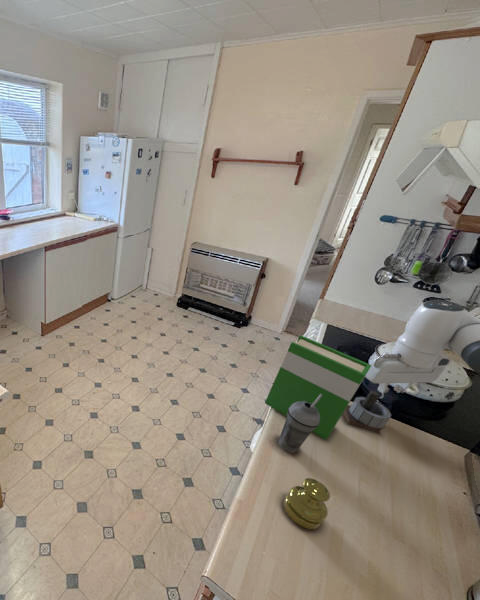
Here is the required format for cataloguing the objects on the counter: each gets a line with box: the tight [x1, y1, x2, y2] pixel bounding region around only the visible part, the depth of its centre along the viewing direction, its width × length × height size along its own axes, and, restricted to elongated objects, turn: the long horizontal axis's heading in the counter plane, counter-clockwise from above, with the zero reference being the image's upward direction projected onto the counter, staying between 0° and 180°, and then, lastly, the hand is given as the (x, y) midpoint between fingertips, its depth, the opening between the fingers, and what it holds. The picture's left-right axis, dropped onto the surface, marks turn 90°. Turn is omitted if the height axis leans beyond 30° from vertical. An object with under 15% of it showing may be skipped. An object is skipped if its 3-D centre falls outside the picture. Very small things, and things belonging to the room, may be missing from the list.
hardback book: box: [264, 334, 372, 440], centre depth 96 cm, size 18×7×24 cm, turn 39°
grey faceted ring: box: [349, 396, 392, 429], centre depth 100 cm, size 9×9×4 cm
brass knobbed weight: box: [283, 477, 331, 530], centre depth 72 cm, size 7×7×10 cm
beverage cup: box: [278, 394, 322, 454], centre depth 86 cm, size 7×7×20 cm
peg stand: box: [342, 390, 381, 434], centre depth 99 cm, size 8×8×11 cm
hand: (389, 391), depth 96 cm, fingers open, 4 cm apart
